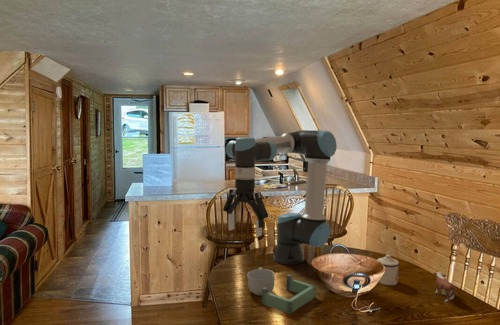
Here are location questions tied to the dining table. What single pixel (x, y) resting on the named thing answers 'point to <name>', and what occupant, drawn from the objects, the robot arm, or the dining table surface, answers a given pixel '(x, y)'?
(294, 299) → the tray
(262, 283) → the teacup
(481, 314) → the dining table surface
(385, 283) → the teacup with lid
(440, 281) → the bull figurine
